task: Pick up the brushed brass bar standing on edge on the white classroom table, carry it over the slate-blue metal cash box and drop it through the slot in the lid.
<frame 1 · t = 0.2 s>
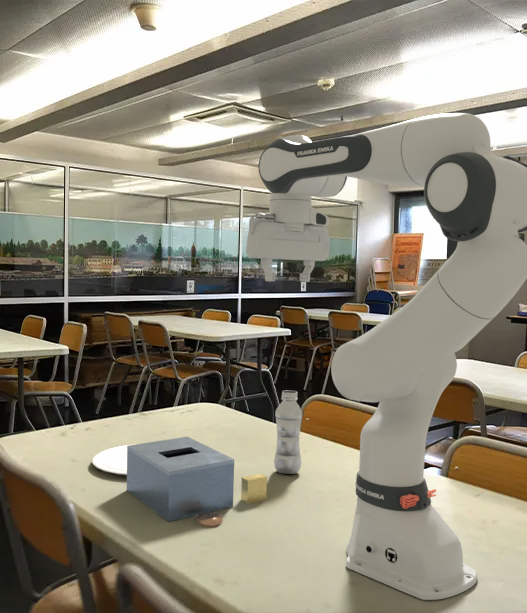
hand: (287, 281, 131), 47 cm above the table, fingers open, 8 cm apart
plate: (143, 465, 155), on the table
plastic bottle: (287, 473, 152), on the table
brushed brass bar: (253, 499, 134), on the table
coin box: (178, 498, 133), on the table
copper token: (209, 523, 122), on the table
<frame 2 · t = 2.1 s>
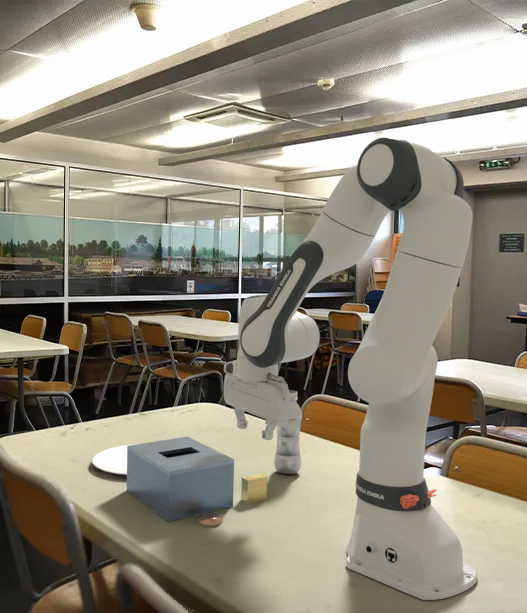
hand: (254, 433, 133), 14 cm above the table, fingers open, 8 cm apart
nothing on the table moved.
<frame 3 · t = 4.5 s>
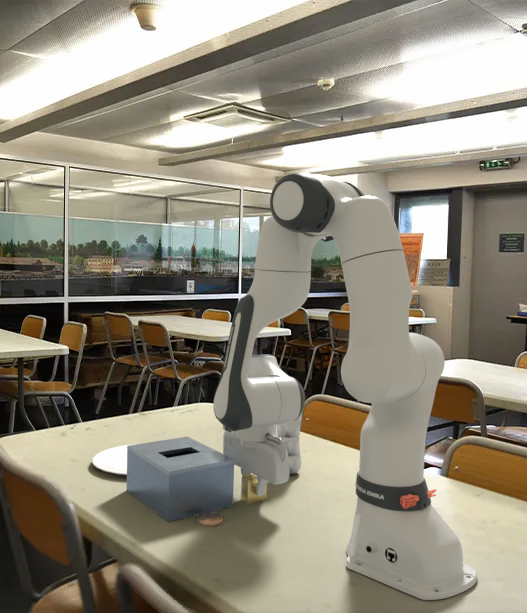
hand: (253, 491, 134), 2 cm above the table, fingers closed on brushed brass bar, 2 cm apart
brushed brass bar: (253, 499, 134), on the table, touching gripper
everything else where it was.
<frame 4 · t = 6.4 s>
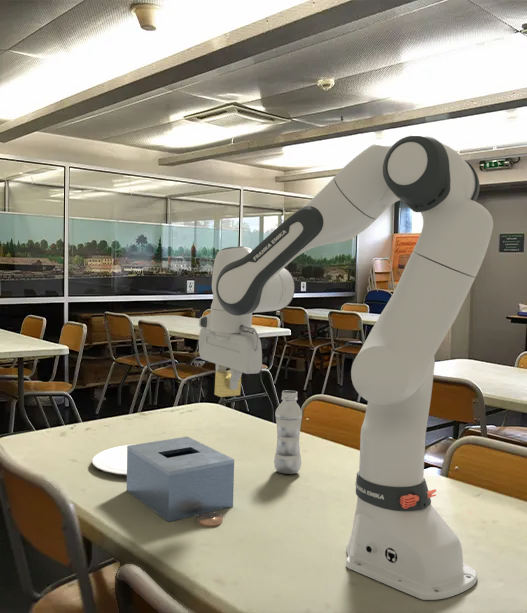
hand: (227, 387, 133), 24 cm above the table, fingers closed on brushed brass bar, 2 cm apart
brushed brass bar: (227, 394, 133), point 23 cm above the table, touching gripper
everything else where it was.
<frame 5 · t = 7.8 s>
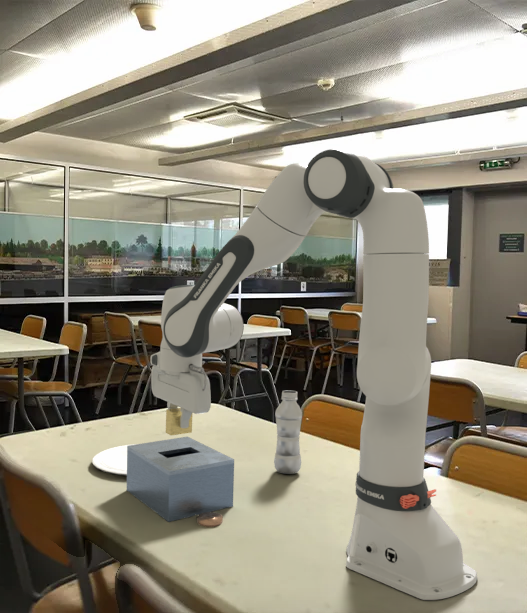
hand: (179, 425, 132), 16 cm above the table, fingers closed on brushed brass bar, 2 cm apart
brushed brass bar: (178, 432, 132), point 14 cm above the table, touching gripper
everything else where it was.
when the fingers open (13 cm above the table, at t = 8.7 s): brushed brass bar drops 10 cm, resting on coin box.
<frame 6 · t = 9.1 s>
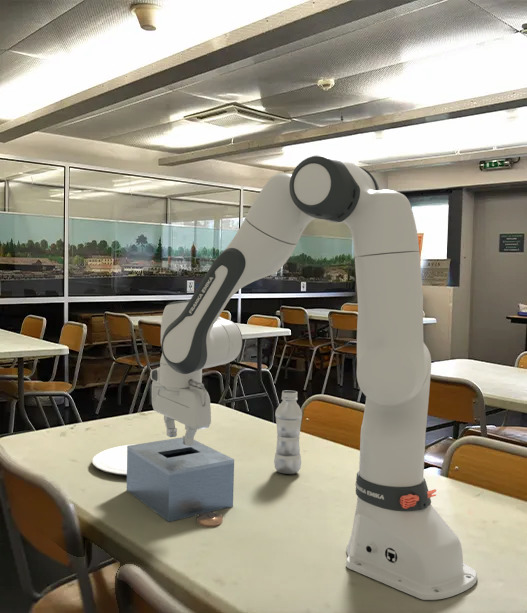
hand: (179, 440, 132), 13 cm above the table, fingers open, 6 cm apart
brushed brass bar: (178, 495, 133), point 1 cm above the table, touching coin box
everything else where it was.
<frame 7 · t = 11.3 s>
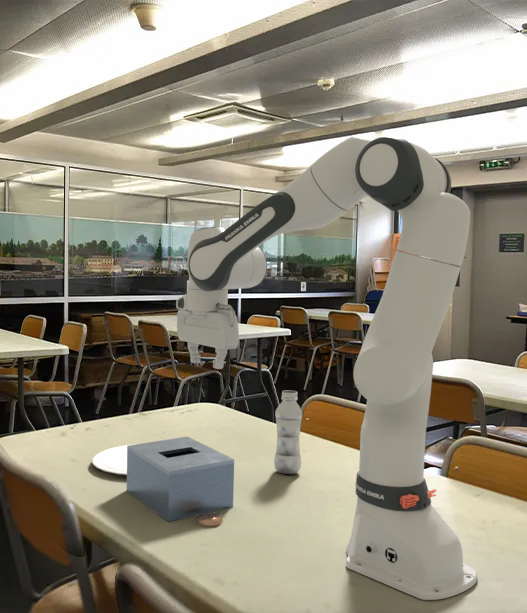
hand: (206, 365, 136), 28 cm above the table, fingers open, 8 cm apart
nothing on the table moved.
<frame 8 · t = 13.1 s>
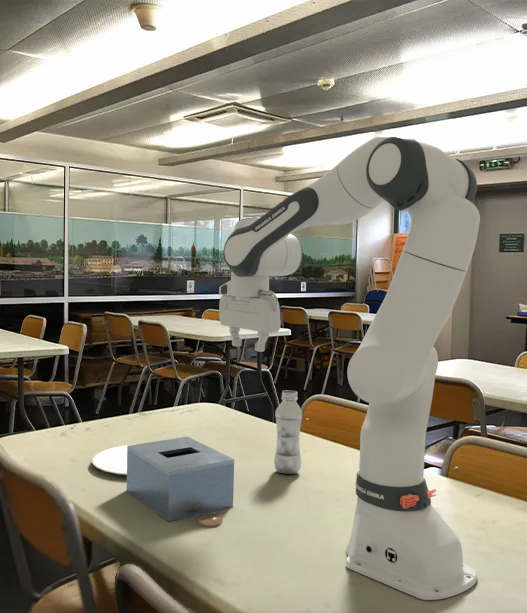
hand: (247, 348, 144), 31 cm above the table, fingers open, 8 cm apart
nothing on the table moved.
at the end: brushed brass bar inside the target area on the coin box (0.0 cm from its centre), point 0.6 cm above the coin box's base; the gripper is holding nothing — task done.
